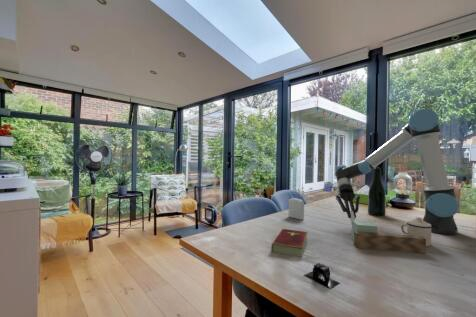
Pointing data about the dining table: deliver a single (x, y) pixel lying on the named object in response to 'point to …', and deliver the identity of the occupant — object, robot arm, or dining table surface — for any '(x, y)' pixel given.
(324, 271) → the black tape dispenser
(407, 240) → the walnut board
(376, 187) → the dark green wine bottle
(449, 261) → the dining table surface
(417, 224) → the teacup with lid
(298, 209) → the grey arched block
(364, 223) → the sage block
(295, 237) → the hardcover book
